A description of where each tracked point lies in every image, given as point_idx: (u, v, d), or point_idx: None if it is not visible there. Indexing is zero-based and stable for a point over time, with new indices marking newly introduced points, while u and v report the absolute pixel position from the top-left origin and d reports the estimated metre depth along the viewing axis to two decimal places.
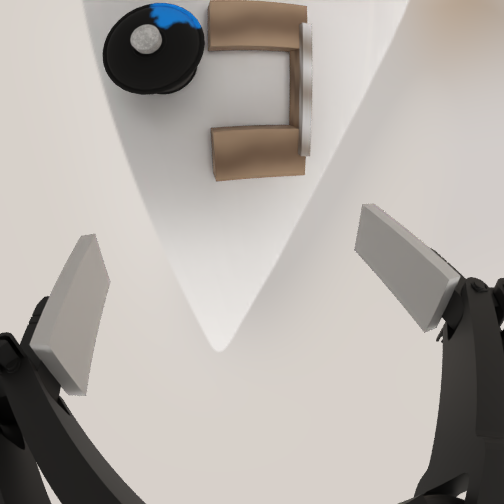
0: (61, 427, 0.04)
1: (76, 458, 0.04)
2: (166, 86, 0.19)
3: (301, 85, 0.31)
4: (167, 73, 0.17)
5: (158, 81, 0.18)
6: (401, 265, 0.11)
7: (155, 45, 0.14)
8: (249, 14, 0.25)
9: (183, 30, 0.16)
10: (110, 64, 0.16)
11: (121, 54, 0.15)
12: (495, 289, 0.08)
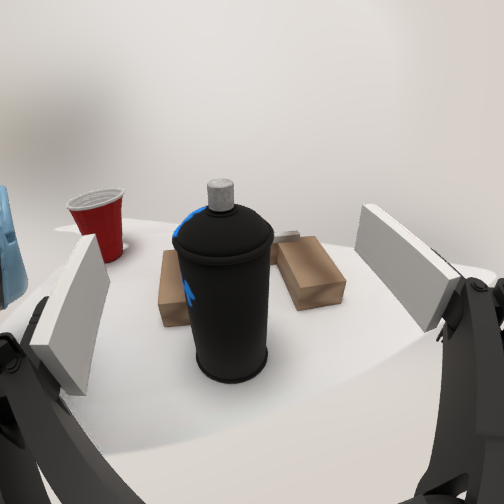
0: (61, 427, 0.04)
1: (75, 458, 0.04)
2: (264, 220, 0.24)
3: None
4: None
5: (260, 216, 0.23)
6: (401, 265, 0.11)
7: None
8: (175, 279, 0.37)
9: None
10: (240, 246, 0.20)
11: (231, 226, 0.21)
12: (495, 289, 0.08)
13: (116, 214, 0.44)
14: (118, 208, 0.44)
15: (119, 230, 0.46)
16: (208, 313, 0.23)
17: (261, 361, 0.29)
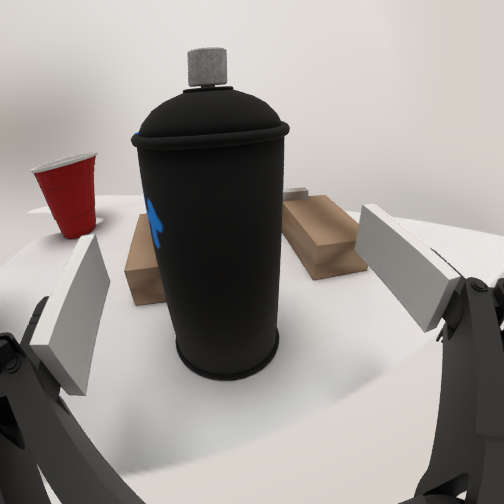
0: (61, 427, 0.04)
1: (75, 458, 0.04)
2: None
3: None
4: None
5: None
6: (401, 265, 0.11)
7: None
8: (151, 241, 0.27)
9: None
10: (239, 120, 0.11)
11: (223, 97, 0.11)
12: (495, 289, 0.08)
13: (86, 176, 0.34)
14: (89, 170, 0.34)
15: (90, 198, 0.36)
16: (184, 254, 0.14)
17: (271, 345, 0.20)
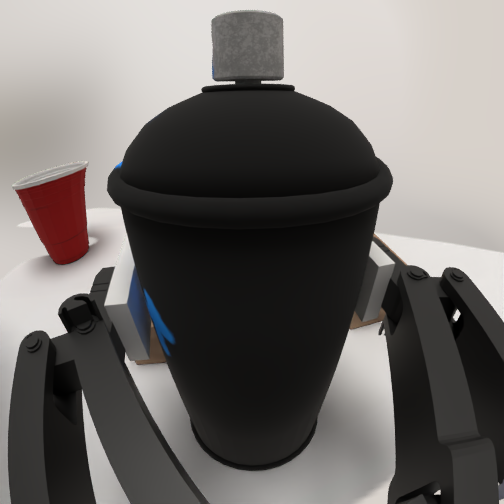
0: (131, 394, 0.05)
1: (141, 427, 0.05)
2: None
3: None
4: None
5: None
6: None
7: None
8: None
9: None
10: (332, 161, 0.05)
11: (290, 107, 0.06)
12: (442, 281, 0.09)
13: (75, 193, 0.28)
14: (78, 185, 0.29)
15: (81, 217, 0.31)
16: (213, 379, 0.08)
17: (311, 429, 0.14)
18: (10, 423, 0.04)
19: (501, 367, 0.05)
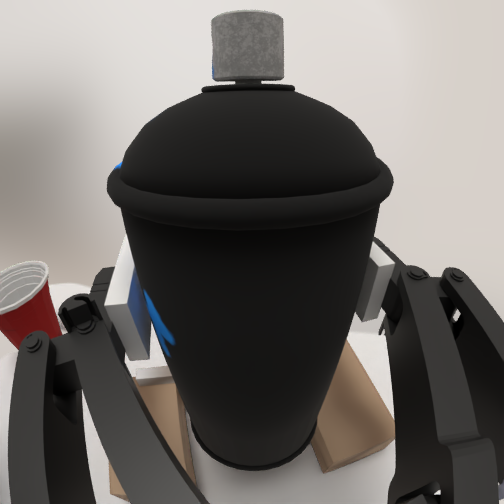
0: (132, 394, 0.05)
1: (141, 426, 0.05)
2: None
3: None
4: None
5: None
6: None
7: None
8: None
9: None
10: (333, 162, 0.05)
11: (291, 107, 0.06)
12: (442, 281, 0.09)
13: (40, 312, 0.24)
14: (42, 303, 0.24)
15: (52, 329, 0.27)
16: (213, 380, 0.08)
17: (311, 430, 0.14)
18: (10, 423, 0.04)
19: (501, 367, 0.05)
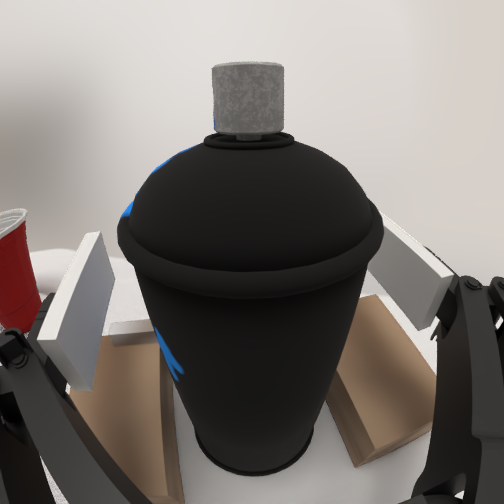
0: (68, 423, 0.04)
1: (82, 454, 0.04)
2: None
3: None
4: None
5: None
6: (395, 263, 0.11)
7: None
8: (93, 422, 0.13)
9: None
10: (326, 231, 0.06)
11: (289, 173, 0.06)
12: (490, 288, 0.08)
13: (11, 259, 0.19)
14: (14, 248, 0.20)
15: (25, 284, 0.22)
16: (218, 403, 0.09)
17: None
18: None
19: None
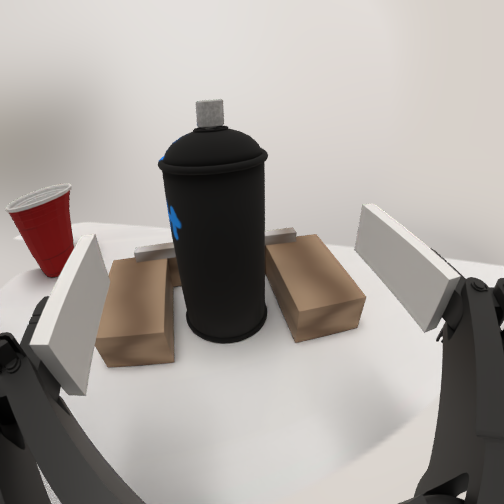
0: (61, 427, 0.04)
1: (75, 458, 0.04)
2: None
3: None
4: None
5: None
6: (401, 265, 0.11)
7: None
8: (120, 300, 0.24)
9: None
10: (231, 155, 0.18)
11: (220, 138, 0.18)
12: (495, 289, 0.08)
13: (60, 215, 0.31)
14: (63, 207, 0.31)
15: (67, 235, 0.34)
16: (196, 243, 0.20)
17: (259, 315, 0.27)
18: None
19: None
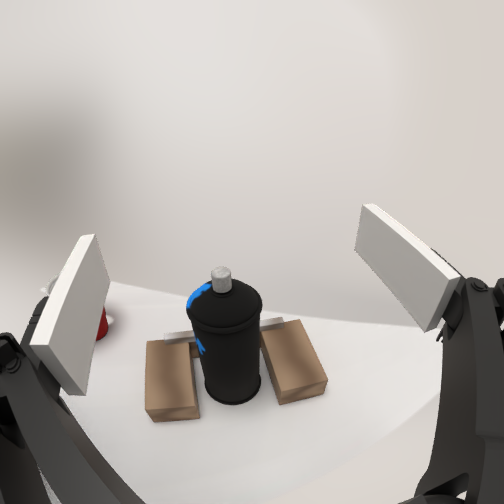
0: (61, 427, 0.04)
1: (76, 458, 0.04)
2: (255, 291, 0.32)
3: None
4: (245, 284, 0.31)
5: (251, 290, 0.31)
6: (401, 265, 0.11)
7: None
8: (159, 379, 0.35)
9: None
10: (237, 319, 0.28)
11: (230, 305, 0.28)
12: (495, 289, 0.08)
13: None
14: None
15: (102, 312, 0.44)
16: (215, 360, 0.30)
17: (255, 387, 0.37)
18: None
19: None
